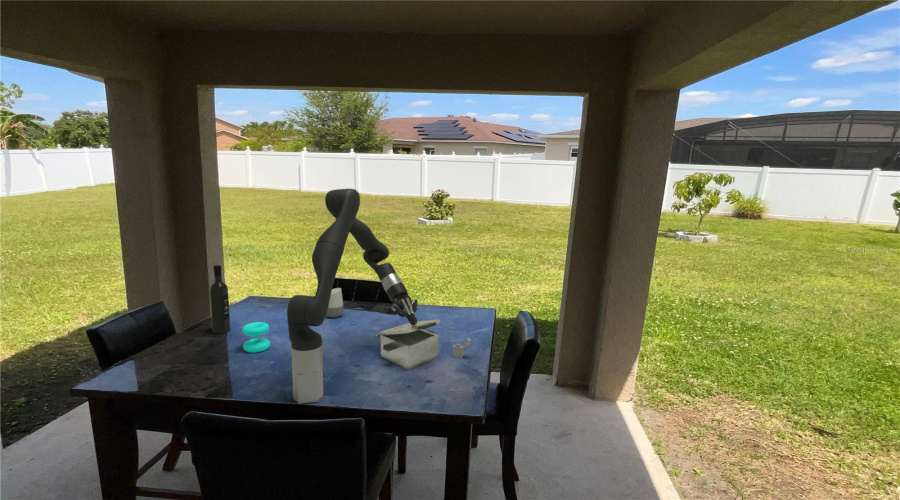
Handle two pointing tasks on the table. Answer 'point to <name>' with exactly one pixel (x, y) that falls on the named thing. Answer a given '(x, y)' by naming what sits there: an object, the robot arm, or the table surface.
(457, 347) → the lighter
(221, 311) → the wine bottle
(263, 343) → the donuts
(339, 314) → the smart speaker
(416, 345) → the grey rectangular box
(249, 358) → the table surface
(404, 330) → the lid
